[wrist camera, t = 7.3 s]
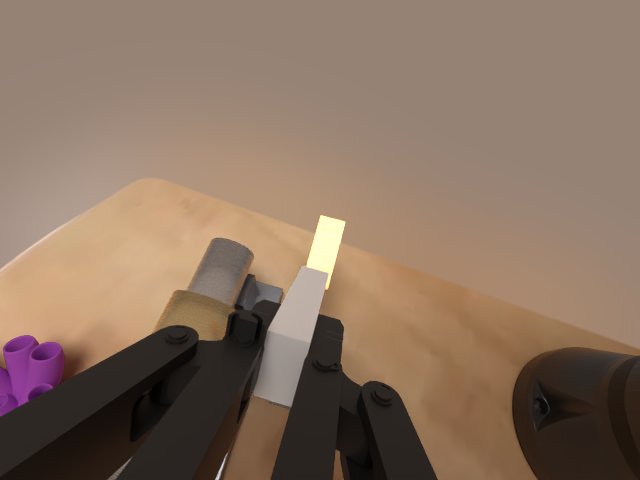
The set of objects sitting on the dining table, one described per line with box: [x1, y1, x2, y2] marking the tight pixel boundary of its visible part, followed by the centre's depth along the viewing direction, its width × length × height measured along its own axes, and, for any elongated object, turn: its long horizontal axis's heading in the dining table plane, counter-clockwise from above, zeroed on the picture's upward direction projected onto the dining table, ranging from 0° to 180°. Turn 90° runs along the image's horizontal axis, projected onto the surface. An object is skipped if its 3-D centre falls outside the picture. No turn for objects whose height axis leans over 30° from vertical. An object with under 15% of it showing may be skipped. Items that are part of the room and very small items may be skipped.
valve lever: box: [269, 216, 345, 409], centre depth 24 cm, size 3×2×14 cm
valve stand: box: [107, 238, 283, 480], centre depth 25 cm, size 18×10×11 cm, turn 165°
